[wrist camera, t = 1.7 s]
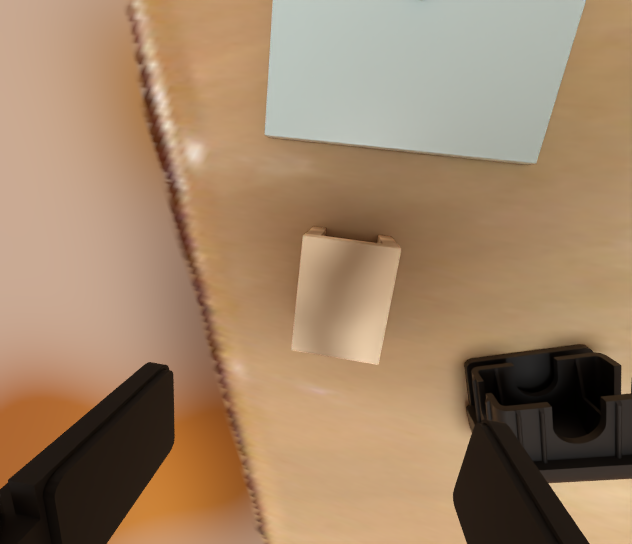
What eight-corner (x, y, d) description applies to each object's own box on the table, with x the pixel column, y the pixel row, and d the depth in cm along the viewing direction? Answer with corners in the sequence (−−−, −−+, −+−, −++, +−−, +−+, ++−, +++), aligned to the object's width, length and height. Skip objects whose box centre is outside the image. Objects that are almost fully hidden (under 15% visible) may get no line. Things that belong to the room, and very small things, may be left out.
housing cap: (391, 236, 22) (401, 249, 18) (373, 331, 25) (378, 364, 20) (313, 226, 23) (303, 235, 18) (303, 319, 25) (291, 349, 20)
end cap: (466, 429, 26) (503, 509, 20) (456, 359, 24) (493, 420, 18) (594, 418, 24) (682, 501, 18) (593, 341, 23) (690, 402, 16)
